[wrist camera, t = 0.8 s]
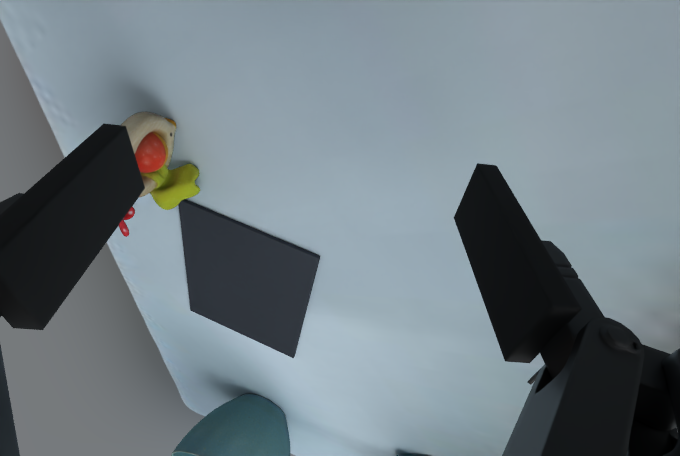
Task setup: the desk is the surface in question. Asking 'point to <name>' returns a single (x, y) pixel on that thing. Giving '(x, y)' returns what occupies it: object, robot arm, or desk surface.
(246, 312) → the mat
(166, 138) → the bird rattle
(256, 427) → the teal green bowl
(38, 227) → the robot arm
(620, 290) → the desk surface
